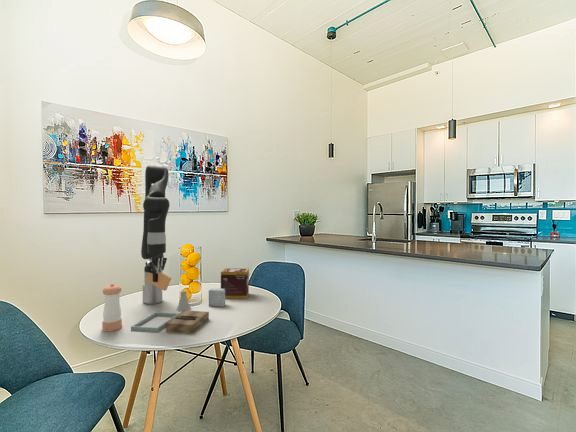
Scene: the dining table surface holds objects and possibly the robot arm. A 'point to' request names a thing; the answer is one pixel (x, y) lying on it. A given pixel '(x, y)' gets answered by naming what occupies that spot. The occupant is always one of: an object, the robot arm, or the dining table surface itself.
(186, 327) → the slotted wooden block
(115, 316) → the pepper shaker
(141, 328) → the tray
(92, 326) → the dining table surface
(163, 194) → the robot arm
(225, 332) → the dining table surface
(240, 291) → the supplement box
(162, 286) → the tan rectangular block
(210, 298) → the grey cube
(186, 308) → the flask
